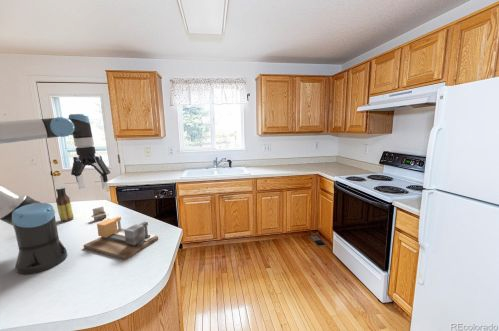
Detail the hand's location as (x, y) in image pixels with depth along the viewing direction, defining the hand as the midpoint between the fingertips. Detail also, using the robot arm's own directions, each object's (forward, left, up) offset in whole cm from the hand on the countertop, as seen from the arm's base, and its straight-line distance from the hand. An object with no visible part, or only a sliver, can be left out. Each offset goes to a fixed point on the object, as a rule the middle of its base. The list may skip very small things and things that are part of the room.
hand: (93, 188), depth 112 cm
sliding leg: (-3, -14, -21) cm, 25 cm away
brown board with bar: (-5, -23, -23) cm, 33 cm away
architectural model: (+11, +16, -24) cm, 31 cm away
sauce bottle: (+3, +34, -24) cm, 42 cm away
